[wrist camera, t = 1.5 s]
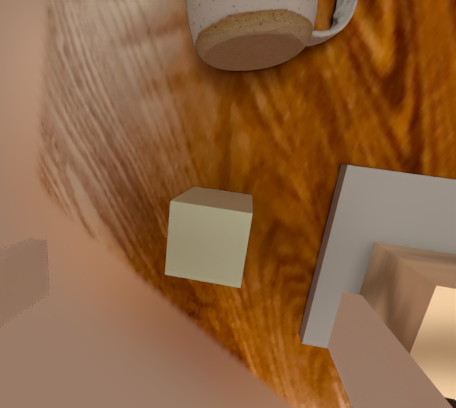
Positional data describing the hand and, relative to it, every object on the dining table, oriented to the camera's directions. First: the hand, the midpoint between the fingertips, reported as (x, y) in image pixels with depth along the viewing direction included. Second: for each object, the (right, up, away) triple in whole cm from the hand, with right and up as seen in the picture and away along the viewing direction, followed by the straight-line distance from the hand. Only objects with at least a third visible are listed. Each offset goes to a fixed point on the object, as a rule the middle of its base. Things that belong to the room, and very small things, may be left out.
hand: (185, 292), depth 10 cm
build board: (+17, -2, +9) cm, 19 cm away
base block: (+16, -3, +8) cm, 19 cm away
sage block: (+1, +3, +10) cm, 10 cm away
